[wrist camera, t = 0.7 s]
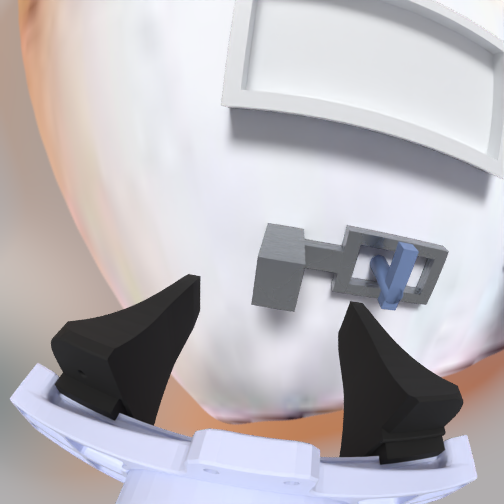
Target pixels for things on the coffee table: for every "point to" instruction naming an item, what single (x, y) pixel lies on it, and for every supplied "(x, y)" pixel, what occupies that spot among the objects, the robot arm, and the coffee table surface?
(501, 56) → the tray
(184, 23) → the coffee table surface
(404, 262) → the t-stake
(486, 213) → the coffee table surface
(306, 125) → the coffee table surface
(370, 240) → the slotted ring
